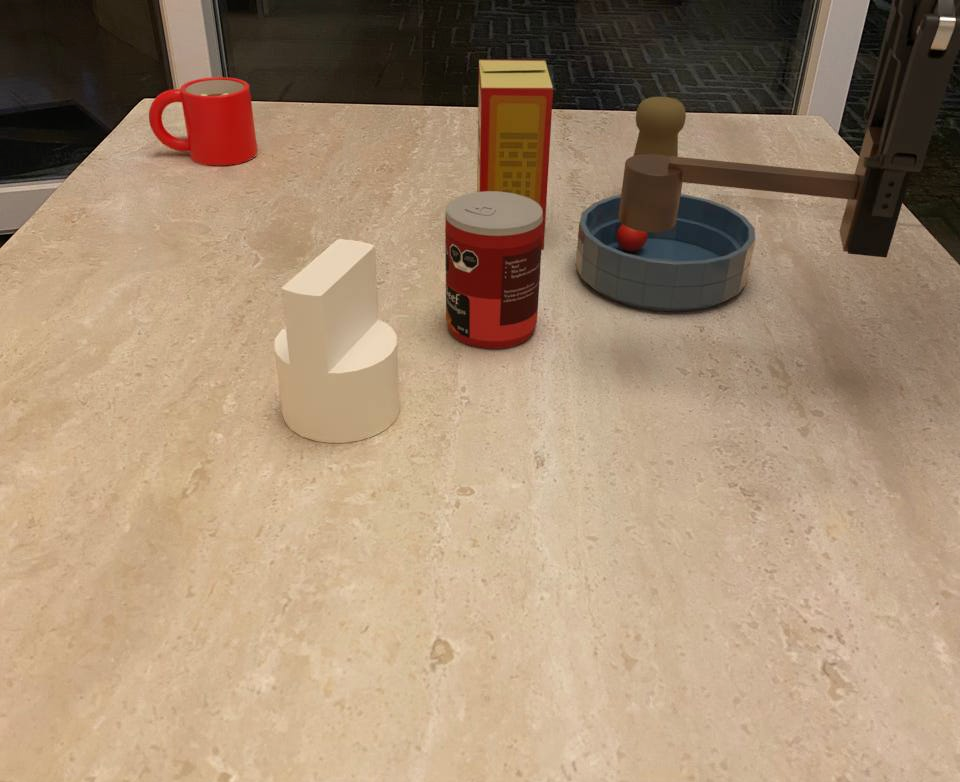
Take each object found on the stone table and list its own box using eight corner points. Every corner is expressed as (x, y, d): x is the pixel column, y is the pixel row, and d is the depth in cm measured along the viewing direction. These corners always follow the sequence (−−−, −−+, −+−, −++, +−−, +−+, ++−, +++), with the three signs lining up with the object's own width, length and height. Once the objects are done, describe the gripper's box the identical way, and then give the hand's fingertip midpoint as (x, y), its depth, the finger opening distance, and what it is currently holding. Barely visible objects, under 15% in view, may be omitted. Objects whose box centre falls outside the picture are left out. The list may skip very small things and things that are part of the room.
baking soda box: (543, 249, 101) (553, 85, 91) (478, 248, 100) (481, 84, 91) (537, 211, 108) (545, 56, 98) (476, 211, 108) (479, 55, 98)
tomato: (635, 259, 98) (658, 239, 98) (618, 236, 96) (641, 215, 96) (622, 256, 100) (645, 236, 100) (606, 233, 99) (628, 212, 99)
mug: (159, 145, 122) (146, 78, 117) (258, 141, 124) (250, 75, 119) (151, 168, 116) (138, 99, 111) (256, 164, 117) (247, 96, 113)
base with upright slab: (369, 453, 73) (360, 306, 65) (260, 427, 75) (239, 282, 68) (417, 391, 79) (414, 251, 72) (316, 369, 82) (303, 231, 74)
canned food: (448, 306, 91) (447, 189, 84) (536, 308, 91) (542, 191, 84) (443, 349, 85) (442, 226, 78) (537, 352, 85) (544, 229, 78)
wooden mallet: (879, 233, 76) (910, 128, 71) (886, 258, 73) (919, 149, 68) (620, 206, 79) (633, 103, 74) (616, 228, 75) (629, 122, 70)
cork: (662, 188, 114) (675, 88, 107) (687, 208, 109) (702, 106, 103) (613, 193, 112) (624, 93, 106) (637, 214, 108) (649, 111, 101)
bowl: (744, 247, 102) (753, 200, 99) (746, 323, 89) (757, 272, 86) (585, 232, 104) (589, 185, 101) (566, 304, 91) (570, 253, 88)
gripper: (882, -142, 67) (805, 194, 82) (918, -107, 54) (819, 285, 69) (999, -137, 66) (901, 203, 81) (1065, -100, 53) (933, 297, 68)
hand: (863, 240), depth 75 cm, fingers closed on wooden mallet, 4 cm apart
